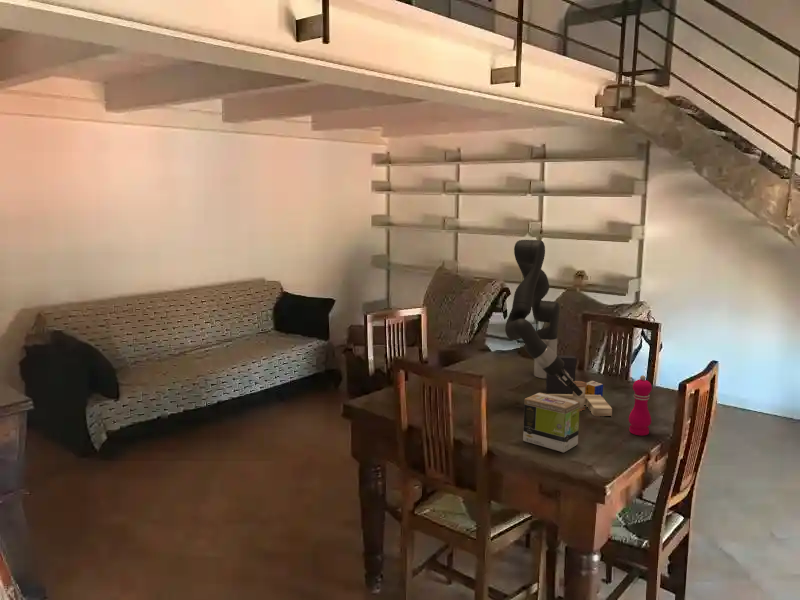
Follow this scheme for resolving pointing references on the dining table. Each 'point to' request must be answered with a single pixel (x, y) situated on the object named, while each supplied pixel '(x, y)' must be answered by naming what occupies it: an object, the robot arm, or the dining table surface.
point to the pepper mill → (640, 408)
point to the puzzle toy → (594, 388)
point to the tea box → (551, 421)
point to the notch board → (592, 404)
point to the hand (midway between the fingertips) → (578, 390)
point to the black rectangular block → (555, 384)
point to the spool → (581, 398)
